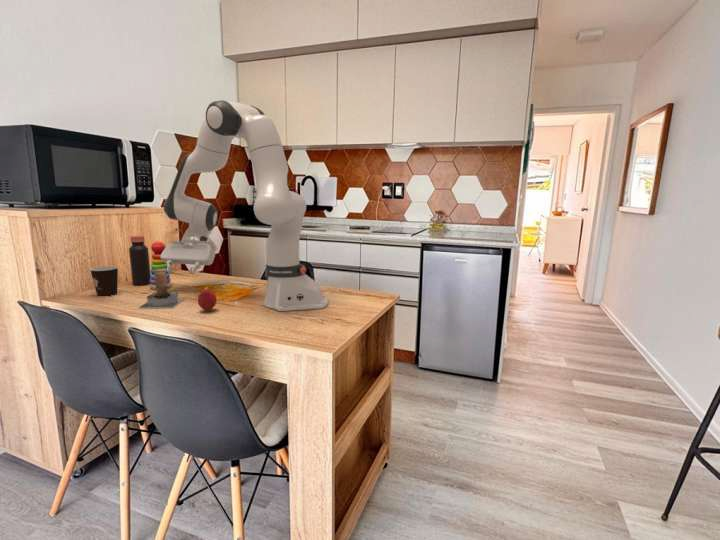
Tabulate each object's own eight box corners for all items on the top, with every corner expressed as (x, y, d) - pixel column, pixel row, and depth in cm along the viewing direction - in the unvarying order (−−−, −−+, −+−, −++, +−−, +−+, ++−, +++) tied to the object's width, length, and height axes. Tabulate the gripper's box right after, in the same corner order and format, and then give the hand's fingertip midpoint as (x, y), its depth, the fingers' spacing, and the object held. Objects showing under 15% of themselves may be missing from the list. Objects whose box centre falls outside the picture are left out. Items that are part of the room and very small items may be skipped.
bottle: (153, 282, 168) (149, 235, 164) (147, 285, 162) (142, 237, 157) (136, 282, 167) (131, 235, 163) (129, 286, 161) (124, 237, 157)
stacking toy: (163, 290, 155) (158, 243, 151) (145, 289, 156) (140, 242, 152) (176, 285, 162) (172, 240, 158) (159, 284, 164) (154, 239, 160)
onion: (215, 313, 128) (213, 289, 126) (196, 314, 127) (194, 290, 125) (218, 308, 133) (217, 285, 132) (200, 308, 132) (199, 285, 131)
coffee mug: (121, 295, 147) (118, 269, 145) (93, 298, 142) (90, 271, 140) (119, 288, 156) (116, 264, 154) (93, 291, 152) (89, 266, 150)
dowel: (170, 301, 139) (167, 267, 137) (166, 304, 136) (163, 269, 133) (159, 301, 139) (156, 267, 137) (155, 304, 136) (151, 269, 133)
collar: (184, 299, 143) (184, 291, 143) (173, 308, 133) (172, 299, 132) (153, 299, 143) (152, 291, 142) (139, 308, 132) (138, 300, 131)
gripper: (165, 236, 153) (150, 266, 146) (214, 238, 149) (201, 268, 142) (174, 246, 158) (159, 275, 151) (221, 248, 155) (208, 278, 147)
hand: (180, 272), depth 146 cm, fingers open, 8 cm apart
